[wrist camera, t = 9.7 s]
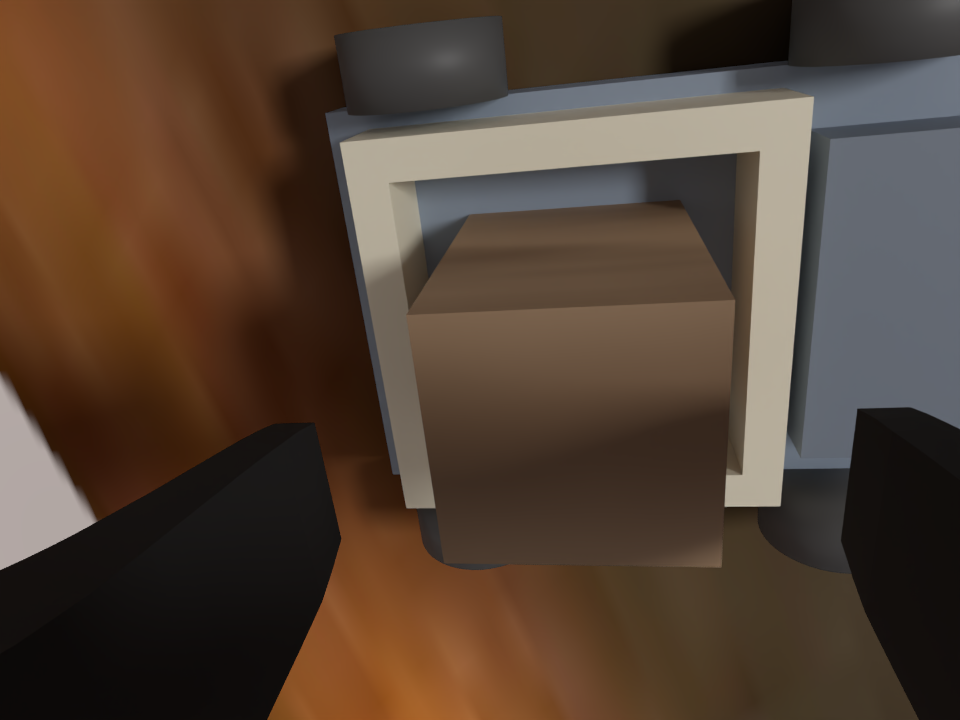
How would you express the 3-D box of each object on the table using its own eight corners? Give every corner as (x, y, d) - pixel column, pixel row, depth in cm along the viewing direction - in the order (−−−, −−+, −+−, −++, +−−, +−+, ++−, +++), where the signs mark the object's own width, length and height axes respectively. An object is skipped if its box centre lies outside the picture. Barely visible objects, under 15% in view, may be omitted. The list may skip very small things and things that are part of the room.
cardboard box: (676, 389, 16) (721, 567, 11) (489, 394, 17) (443, 563, 12) (680, 200, 14) (735, 299, 9) (469, 214, 15) (406, 314, 10)
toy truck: (906, 487, 18) (967, 574, 15) (410, 491, 20) (381, 568, 17) (996, -43, 13) (1112, -64, 10) (331, 39, 15) (271, 41, 12)
